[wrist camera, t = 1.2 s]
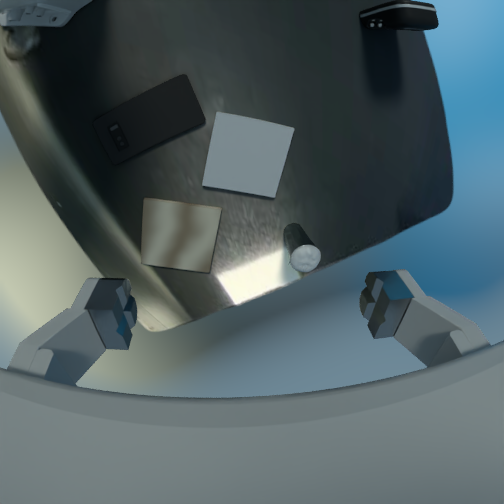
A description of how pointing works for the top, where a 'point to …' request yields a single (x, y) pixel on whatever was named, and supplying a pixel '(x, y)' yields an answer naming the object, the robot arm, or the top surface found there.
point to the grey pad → (246, 154)
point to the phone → (149, 119)
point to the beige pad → (178, 234)
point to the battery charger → (401, 16)
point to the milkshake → (300, 248)
